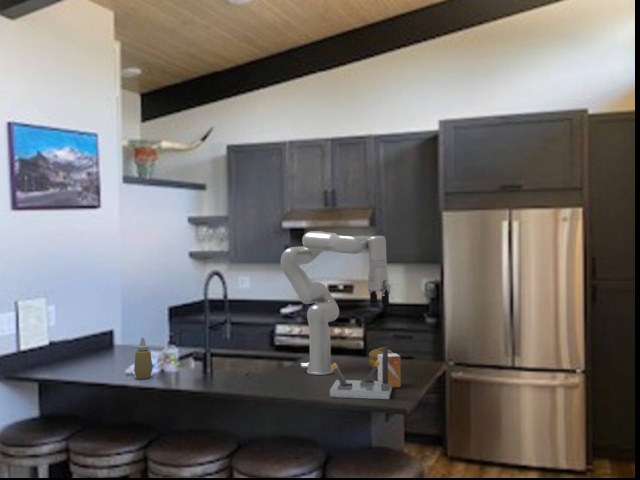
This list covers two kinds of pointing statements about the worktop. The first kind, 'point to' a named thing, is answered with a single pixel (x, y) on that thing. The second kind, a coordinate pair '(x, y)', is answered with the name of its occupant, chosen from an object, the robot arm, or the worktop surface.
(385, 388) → the post
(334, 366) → the orange tipped lever
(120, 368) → the worktop surface
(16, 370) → the worktop surface
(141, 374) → the squeeze bottle
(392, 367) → the small box
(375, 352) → the pot
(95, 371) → the worktop surface
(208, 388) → the worktop surface
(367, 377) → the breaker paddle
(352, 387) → the panel
